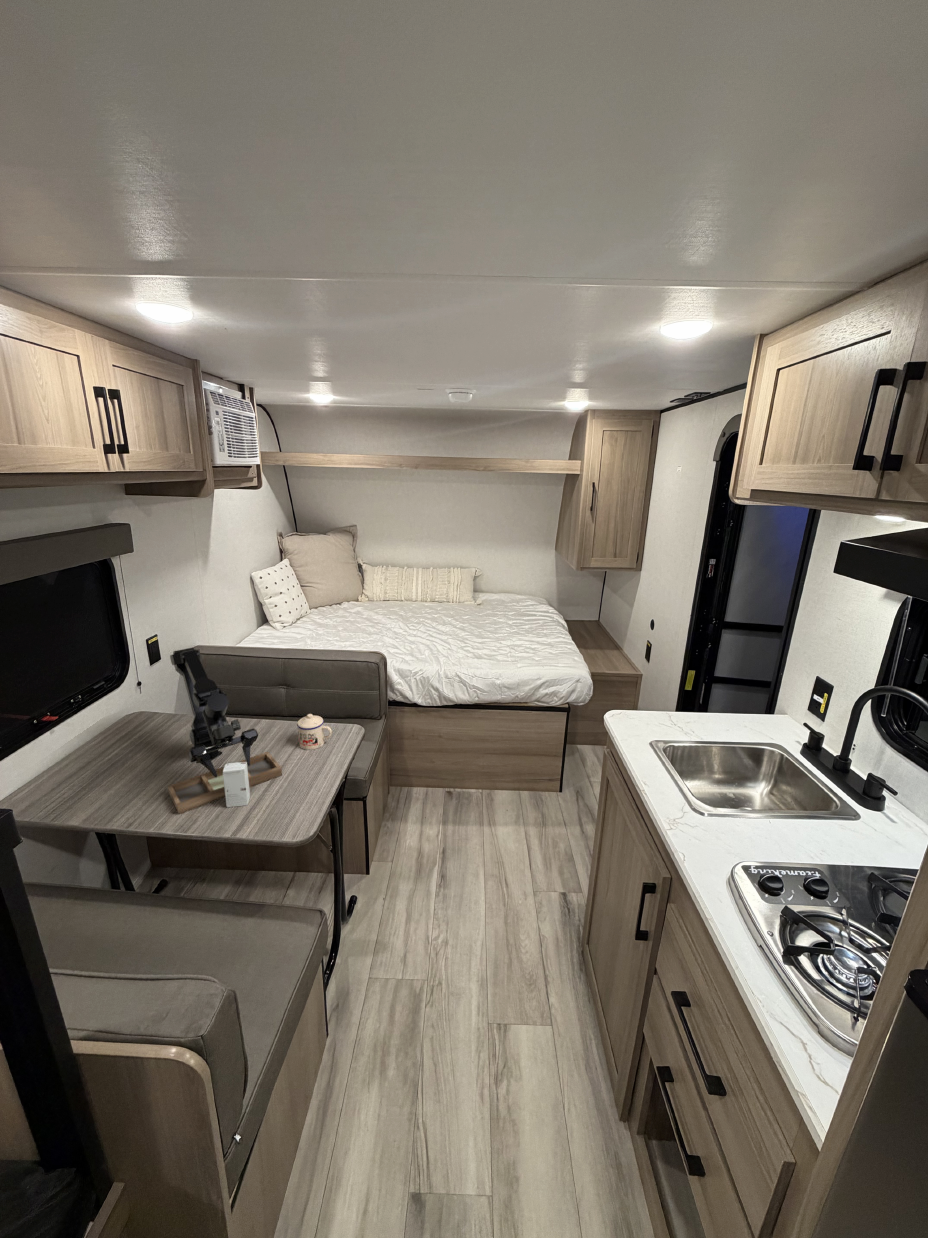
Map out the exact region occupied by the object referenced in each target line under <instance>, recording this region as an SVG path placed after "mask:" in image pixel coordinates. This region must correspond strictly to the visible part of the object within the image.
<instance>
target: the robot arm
mask: <svg viewBox="0 0 928 1238" xmlns="http://www.w3.org/2000/svg"><path fill="white" fill-rule="evenodd" d="M169 656H170V657H169V659H170V663H171V664H172V666H174V670H175V672H177V673H178V674H180V676H182V678H183V682H184V685H185V688H186V693H187V696H188V700H189V702H190V706H191V711H192V714H193V720H192V722H191V725H190V726H191V727H190V728H191V730H190V732H189V738H190V739H189V740H190V742H191V744H192V745H193V747H191V748H190V749H189V752H188V758H189V762H190V763H194V762H195V763H196V764H201V765H202V766H203V767H204V768H206V770H208V772H211V773H212V774H213V776H214V777H215V778H216V777H217V773H216V768H215V766H214V764H213V762H212V761H213V760H214V759H217V757H219V756H221V755H222V754H223V751H221V750H222V749H226V748H227V747H231V746H234V745H237V744H242V746H241V748H242V752H243V755H244V760H245V759H246V762H247V765H248V766H250V758H251V748H252V746H253V744H254V743H255V742H256V741H257V739H258V737H259V733H258V731H257V729H256V728H253V727H252V728H250V729H247V730H244V731H242V732H241V734H240V736H236V737H235V735H236V731H240V730H241V729H242V727H241V723H240V721H239V719H237V718H236V719H234V720H231V721H230V723H229V721H228V720H227V719H228V718H227V716H226V712H227V709H228V707H229V702H230V700H229V698H228V696H227V693H226V692H224V690H222V689H221V687H220V686H218V684H217V683H216V681H215V680H212V679H211V678H209V676H208V674H207V671H206V669H205V668H204V665H203V664H202V655H201V651H200V649H196V648H194V647H189V648H183V649H178V650H173V652H172V654H170V655H169Z"/></svg>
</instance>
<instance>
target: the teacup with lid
mask: <svg viewBox="0 0 928 1238" xmlns="http://www.w3.org/2000/svg"><path fill="white" fill-rule="evenodd" d="M324 722H325V721H324V718H323V717H321V716H319V715H315V714H314V715H313V714H312V713H308V714H306V716H303V717H301V718H300V719H299V720H298V721H297V724H296V726H297V730H298V743H299V746H300V747H299V748H300V749H303V750H306V751H312V750H316V749H319V748H321V747H323V745H325V741H326V740H329V739H330V737H332V734H333V731H332V730H333V729H331V727H330V726H328V725H326V726H325V725H324ZM325 730H327V731H328V732H329V733H328V734H329V735H327V736H325Z"/></svg>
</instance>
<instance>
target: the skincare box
mask: <svg viewBox="0 0 928 1238" xmlns="http://www.w3.org/2000/svg"><path fill="white" fill-rule="evenodd" d="M224 766H225V767H224ZM224 766H223V767H224V769H223V780H224V788H225V797H224V798H225V805H226V808H234V807H242V806H248V804H249V801H250V798H251V791H250V788H249V780H248V770H247V762H239V761H237V762H232V763H231V762H229V763H225V765H224Z"/></svg>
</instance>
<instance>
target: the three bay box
mask: <svg viewBox="0 0 928 1238" xmlns="http://www.w3.org/2000/svg"><path fill="white" fill-rule="evenodd" d="M238 762H246V759H245V758H244V759H242V760H239V761H238ZM224 767H225V765H224V766H222V767H218V768H215V770H216V773H217V777H216V778H215V777H214V776H213V774H212V773H211V772H210V771H207V772H205V773H201V774H199V775H196V776H193V777H190V778H187V779H185V780H182V781H179V782H176V783H172V784H170V785H167V789H168V795H169V796H170V798H171V801H172V803H173V805H174V808H175V809H176V811H177V814H178V815H182V814H184V813H187V812H189V811H192V810H195V809H197V808H201V807H202V806H205V805H208V804H210V803H211V804H212V803H214V802H215V801H218V800H221V799H225V798H226V797H225V788H224V780H223V769H224ZM247 770H248V780H249V789H250V788H253V787H255V786H257V785H260V784H262V783H265V782H268V781H271V780H274V779H276V778H279V777H281V776H283V771H282V766H281V765H280V764H279V763H278V761H276V759H274V757H273V756H272V755H271V753H269V751H265V752H263V753H260V754H257V755H254V756H250V766H248V765H247Z"/></svg>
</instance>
